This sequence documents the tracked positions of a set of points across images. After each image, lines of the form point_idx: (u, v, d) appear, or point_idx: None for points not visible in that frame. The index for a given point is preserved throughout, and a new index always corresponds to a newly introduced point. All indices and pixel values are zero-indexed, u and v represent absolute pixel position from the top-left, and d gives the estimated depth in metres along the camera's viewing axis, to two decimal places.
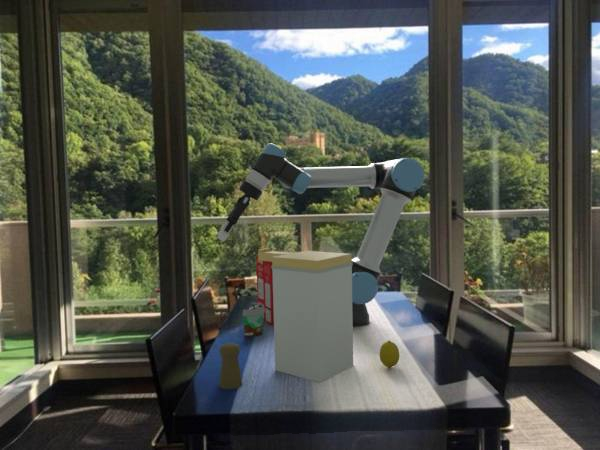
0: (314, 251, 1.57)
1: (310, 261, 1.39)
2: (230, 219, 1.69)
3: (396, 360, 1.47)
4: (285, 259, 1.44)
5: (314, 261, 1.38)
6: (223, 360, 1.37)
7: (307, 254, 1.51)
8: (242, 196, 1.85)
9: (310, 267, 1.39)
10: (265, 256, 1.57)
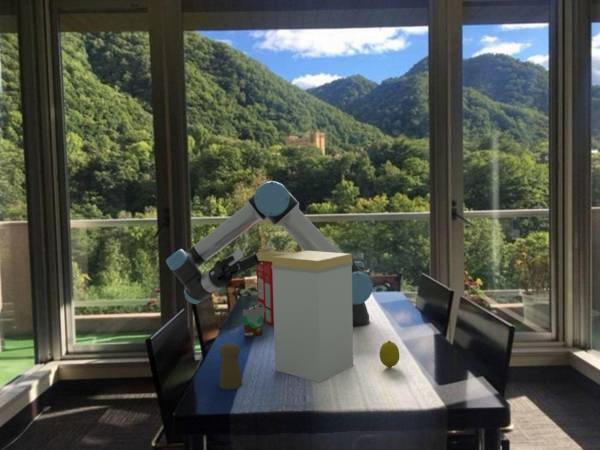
0: (314, 251, 1.57)
1: (310, 261, 1.39)
2: (220, 267, 1.63)
3: (396, 360, 1.47)
4: (285, 259, 1.44)
5: (314, 261, 1.38)
6: (223, 360, 1.37)
7: (307, 254, 1.51)
8: (239, 272, 1.80)
9: (310, 267, 1.39)
10: (265, 256, 1.57)
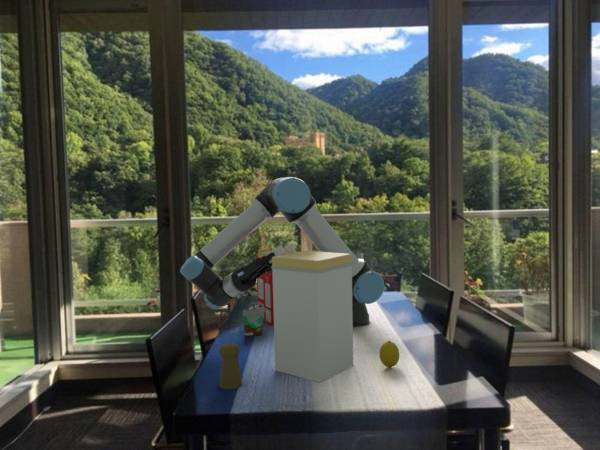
0: (314, 251, 1.57)
1: (310, 261, 1.39)
2: (260, 264, 1.54)
3: (396, 360, 1.47)
4: (285, 259, 1.44)
5: (314, 261, 1.38)
6: (223, 360, 1.37)
7: (307, 254, 1.51)
8: (266, 273, 1.68)
9: (310, 267, 1.39)
10: None
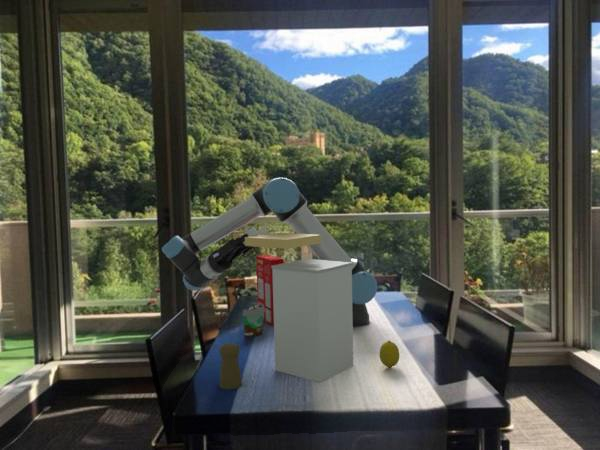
0: (287, 233, 1.63)
1: (280, 240, 1.45)
2: (234, 245, 1.60)
3: (396, 360, 1.47)
4: (257, 239, 1.50)
5: (283, 240, 1.44)
6: (223, 360, 1.37)
7: (279, 235, 1.57)
8: (242, 255, 1.74)
9: (280, 246, 1.45)
10: None
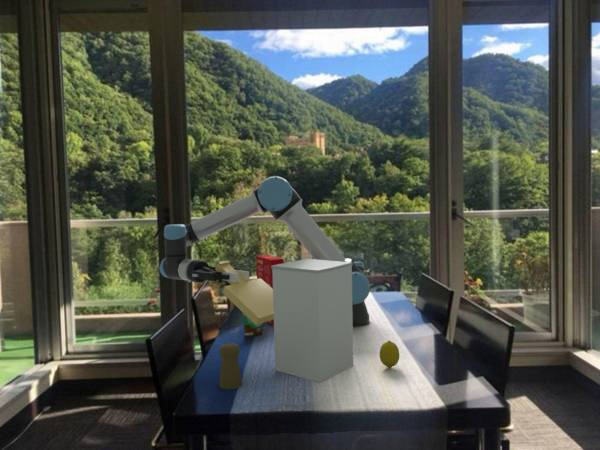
0: (265, 284, 1.71)
1: (253, 314, 1.54)
2: (213, 280, 1.67)
3: (396, 360, 1.47)
4: (234, 296, 1.58)
5: (256, 316, 1.53)
6: (223, 360, 1.37)
7: (256, 292, 1.64)
8: None
9: (251, 318, 1.54)
10: (221, 271, 1.69)
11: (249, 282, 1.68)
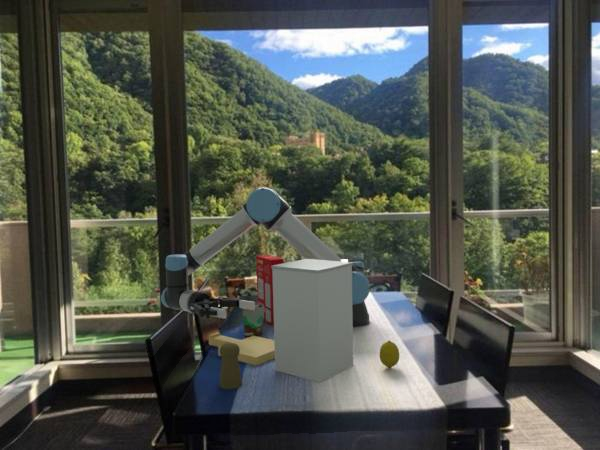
0: (259, 337, 1.74)
1: (249, 357, 1.56)
2: (201, 315, 1.66)
3: (396, 360, 1.47)
4: None
5: (253, 357, 1.55)
6: (223, 360, 1.37)
7: (251, 343, 1.67)
8: None
9: (249, 362, 1.56)
10: (214, 341, 1.74)
11: (242, 340, 1.71)
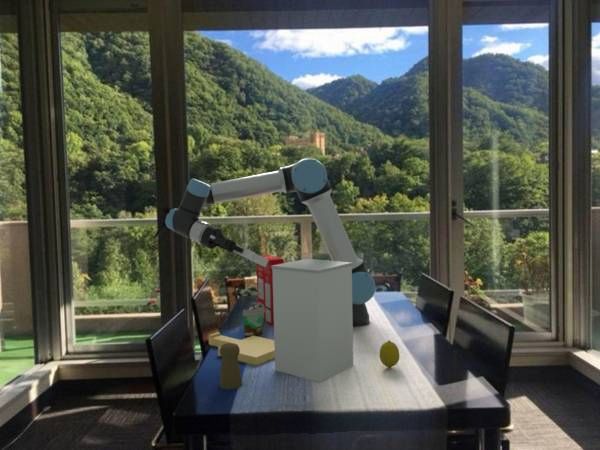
0: (259, 337, 1.74)
1: (249, 357, 1.56)
2: (227, 247, 1.62)
3: (396, 360, 1.47)
4: None
5: (253, 357, 1.55)
6: (223, 360, 1.37)
7: (251, 343, 1.67)
8: None
9: (249, 362, 1.56)
10: (214, 341, 1.74)
11: (242, 340, 1.71)
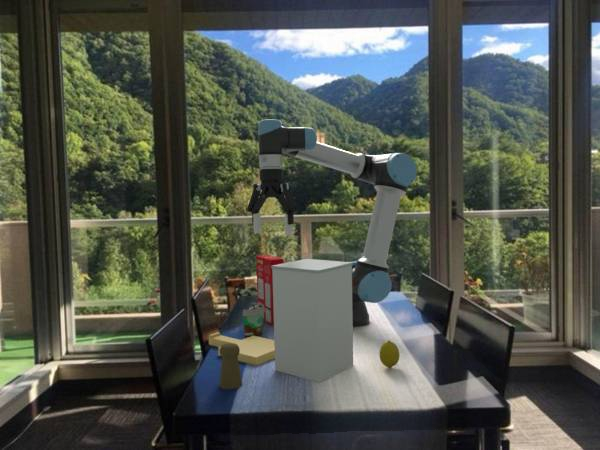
0: (259, 337, 1.74)
1: (249, 357, 1.56)
2: (294, 211, 1.64)
3: (396, 360, 1.47)
4: None
5: (253, 357, 1.55)
6: (223, 360, 1.37)
7: (251, 343, 1.67)
8: (256, 185, 1.73)
9: (249, 362, 1.56)
10: (214, 341, 1.74)
11: (242, 340, 1.71)
